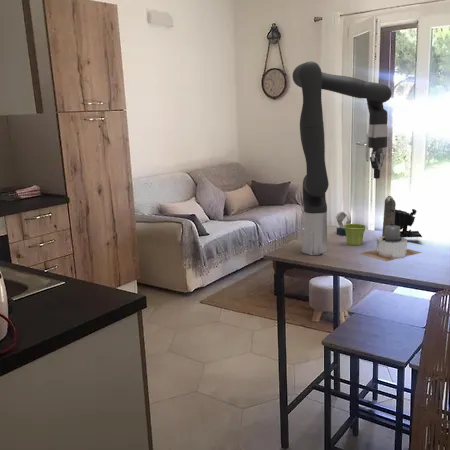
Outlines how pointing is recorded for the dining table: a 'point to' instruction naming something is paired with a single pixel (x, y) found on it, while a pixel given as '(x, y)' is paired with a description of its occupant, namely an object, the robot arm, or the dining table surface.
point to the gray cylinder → (392, 233)
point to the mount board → (375, 255)
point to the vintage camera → (398, 219)
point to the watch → (340, 218)
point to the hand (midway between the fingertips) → (376, 178)
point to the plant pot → (354, 233)
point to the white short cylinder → (391, 248)
